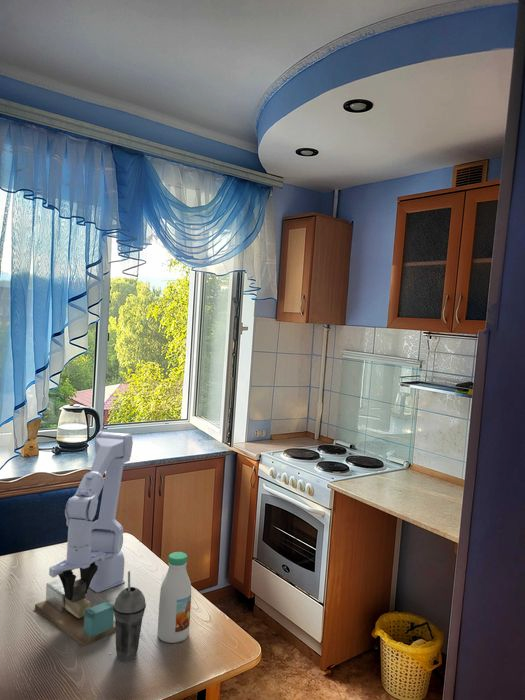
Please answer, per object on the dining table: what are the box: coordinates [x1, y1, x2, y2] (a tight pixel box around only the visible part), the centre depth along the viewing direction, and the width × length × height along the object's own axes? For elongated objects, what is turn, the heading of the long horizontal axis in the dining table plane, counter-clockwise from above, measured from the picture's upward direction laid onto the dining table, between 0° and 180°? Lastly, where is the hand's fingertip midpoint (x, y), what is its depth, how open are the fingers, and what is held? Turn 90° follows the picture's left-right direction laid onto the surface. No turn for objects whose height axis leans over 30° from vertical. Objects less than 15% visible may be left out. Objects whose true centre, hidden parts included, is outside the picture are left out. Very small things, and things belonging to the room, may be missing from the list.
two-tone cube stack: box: [64, 578, 91, 618], centre depth 135 cm, size 4×14×7 cm, turn 50°
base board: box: [34, 599, 116, 647], centre depth 133 cm, size 10×23×1 cm, turn 50°
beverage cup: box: [113, 570, 147, 663], centre depth 119 cm, size 7×7×20 cm
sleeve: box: [45, 578, 68, 613], centre depth 137 cm, size 5×8×5 cm, turn 50°
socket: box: [84, 600, 115, 638], centre depth 126 cm, size 6×3×6 cm, turn 140°
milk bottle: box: [157, 551, 192, 644], centre depth 128 cm, size 8×8×20 cm
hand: (76, 595), depth 133 cm, fingers closed on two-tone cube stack, 4 cm apart
